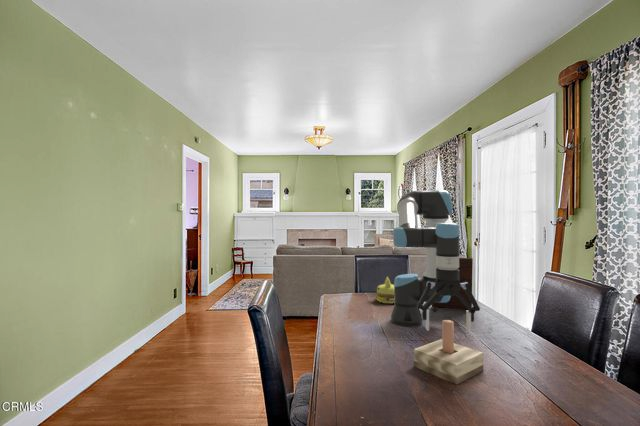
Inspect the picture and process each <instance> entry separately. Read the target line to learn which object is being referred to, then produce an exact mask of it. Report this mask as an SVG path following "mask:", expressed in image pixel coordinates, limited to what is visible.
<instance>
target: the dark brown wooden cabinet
mask: <svg viewBox="0 0 640 426" xmlns="http://www.w3.org/2000/svg"><path fill="white" fill-rule="evenodd" d="M473 260H474V258H473V257H459V268H457V269H459V282H460V283H464V282H467V283H468V284H469V285H470V291H471V292H472V293H473V264H474V263H473ZM458 292H459V293H460V294H461V296H462V297H463V298H464V299H465V300H466V301H467V302H468V304H469V305H470V306H471V307H473V304H472V303H471V301H470V299H469V297H468V295H467V293H466V291H465V289H463V288H462V287H461V288H460V289H459V290H458ZM431 308H432V309H433V310H432V311H433V312H434V313H436V312H437V309H444V310H452V311H453V310H455V311H469V309H468V308H467V307H466V306H465V305H464V304H463V302H462V301H461V300H460V299H459V298H458V297H457V296H456V295H453V296H451V297H450V300H449V301H448V302H447V303H436V302H434V303H433V304H432V305H431Z"/></svg>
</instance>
